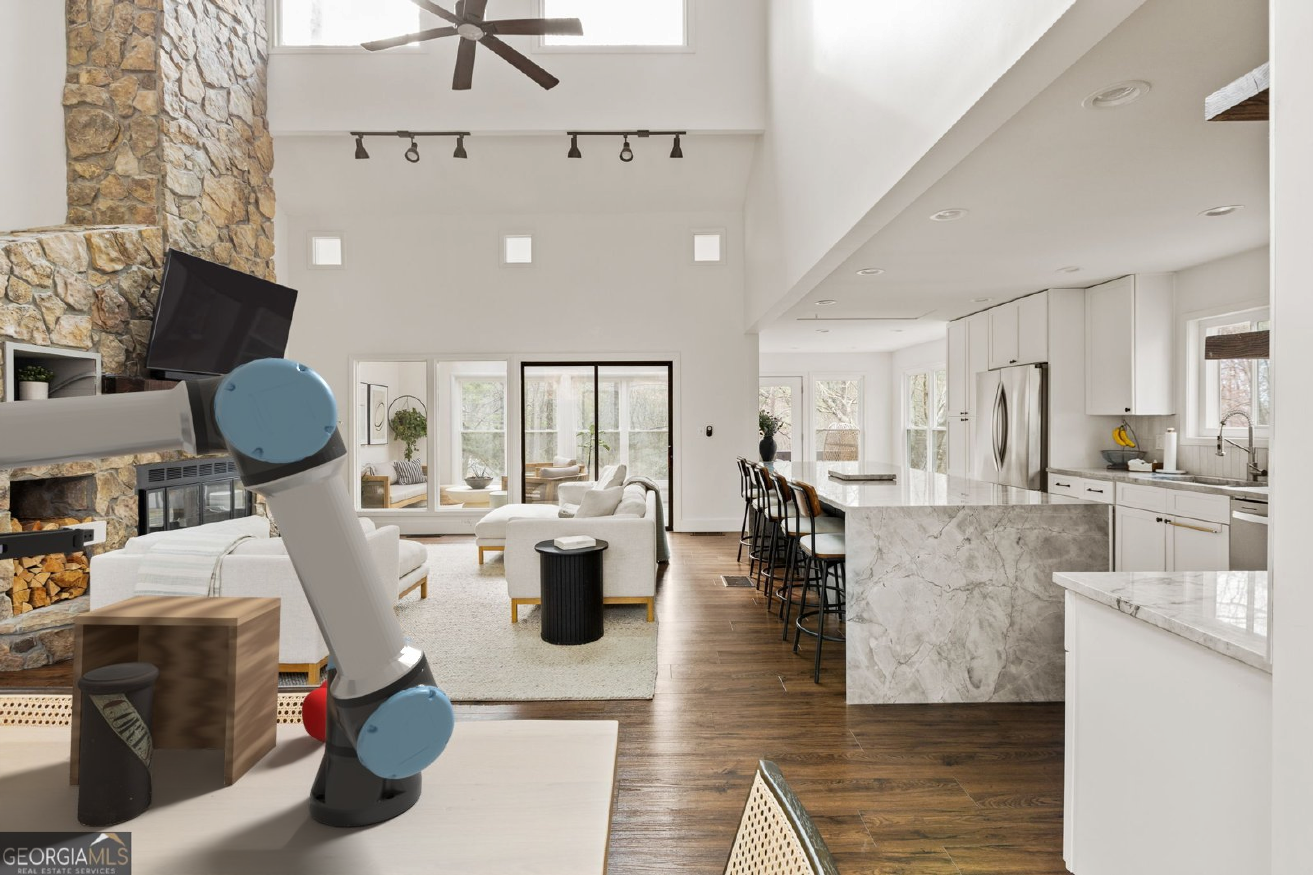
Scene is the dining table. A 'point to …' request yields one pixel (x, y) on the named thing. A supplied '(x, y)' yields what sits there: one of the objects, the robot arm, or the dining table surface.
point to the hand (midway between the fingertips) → (48, 530)
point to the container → (116, 743)
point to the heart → (315, 712)
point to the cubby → (191, 671)
